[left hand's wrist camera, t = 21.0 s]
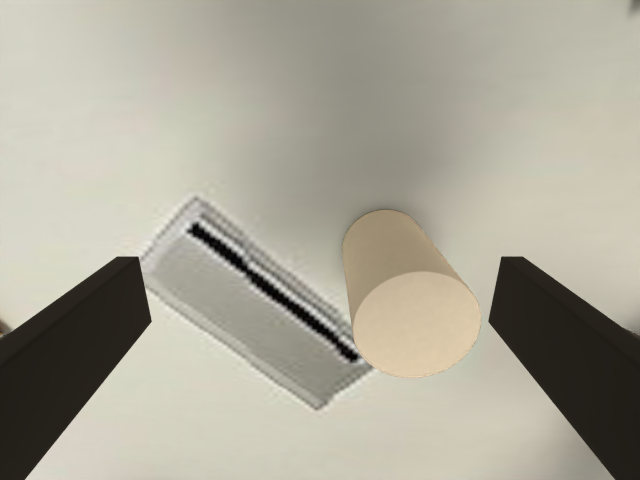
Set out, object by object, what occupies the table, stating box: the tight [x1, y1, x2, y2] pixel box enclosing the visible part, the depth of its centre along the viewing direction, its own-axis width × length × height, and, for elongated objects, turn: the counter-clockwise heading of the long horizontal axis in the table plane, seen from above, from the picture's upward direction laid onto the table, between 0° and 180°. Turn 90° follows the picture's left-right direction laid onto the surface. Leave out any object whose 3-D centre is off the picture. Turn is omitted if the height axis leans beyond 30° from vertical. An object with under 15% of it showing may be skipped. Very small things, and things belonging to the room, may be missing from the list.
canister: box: [342, 210, 481, 378], centre depth 28 cm, size 8×8×13 cm
